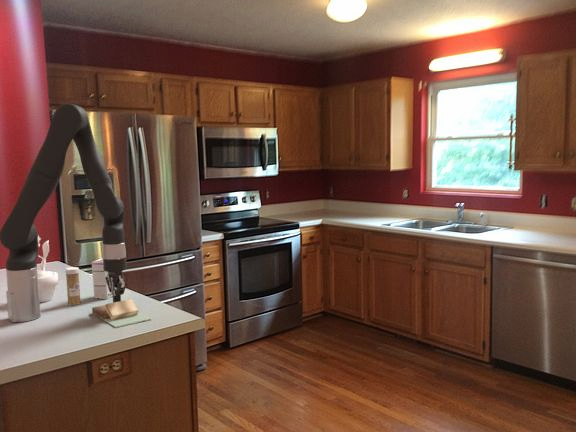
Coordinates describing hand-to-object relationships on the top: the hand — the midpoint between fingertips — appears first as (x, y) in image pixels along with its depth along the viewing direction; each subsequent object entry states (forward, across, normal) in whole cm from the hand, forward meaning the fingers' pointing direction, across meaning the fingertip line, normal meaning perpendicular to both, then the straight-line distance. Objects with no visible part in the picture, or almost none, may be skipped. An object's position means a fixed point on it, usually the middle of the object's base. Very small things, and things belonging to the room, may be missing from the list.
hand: (117, 305), depth 181 cm
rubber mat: (+3, +9, 0) cm, 9 cm away
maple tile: (+1, +4, 0) cm, 4 cm away
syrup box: (+3, -25, +5) cm, 25 cm away
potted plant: (+3, -36, -15) cm, 39 cm away
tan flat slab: (+3, -2, 0) cm, 3 cm away
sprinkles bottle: (+3, -23, -7) cm, 24 cm away
